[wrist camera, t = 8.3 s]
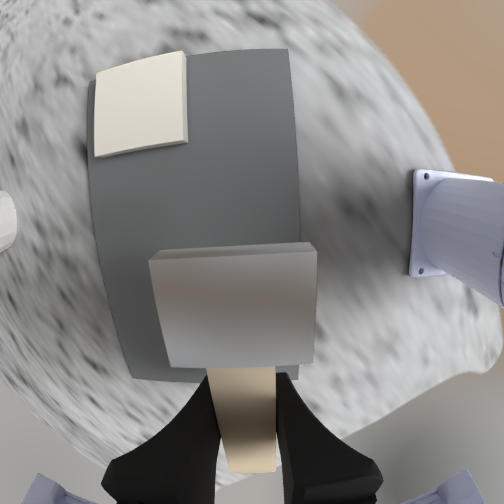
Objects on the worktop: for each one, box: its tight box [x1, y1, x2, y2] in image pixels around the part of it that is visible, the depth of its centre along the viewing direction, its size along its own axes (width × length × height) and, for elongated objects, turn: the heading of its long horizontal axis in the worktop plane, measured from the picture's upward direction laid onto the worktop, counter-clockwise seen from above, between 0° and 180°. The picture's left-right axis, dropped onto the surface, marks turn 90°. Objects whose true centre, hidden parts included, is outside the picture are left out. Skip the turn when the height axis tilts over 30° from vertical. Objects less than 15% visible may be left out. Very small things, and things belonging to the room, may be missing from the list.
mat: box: [87, 49, 300, 383], centre depth 17 cm, size 14×24×1 cm, turn 3°
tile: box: [94, 51, 188, 158], centre depth 14 cm, size 6×1×6 cm
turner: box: [148, 242, 317, 473], centre depth 12 cm, size 12×5×5 cm, turn 3°
